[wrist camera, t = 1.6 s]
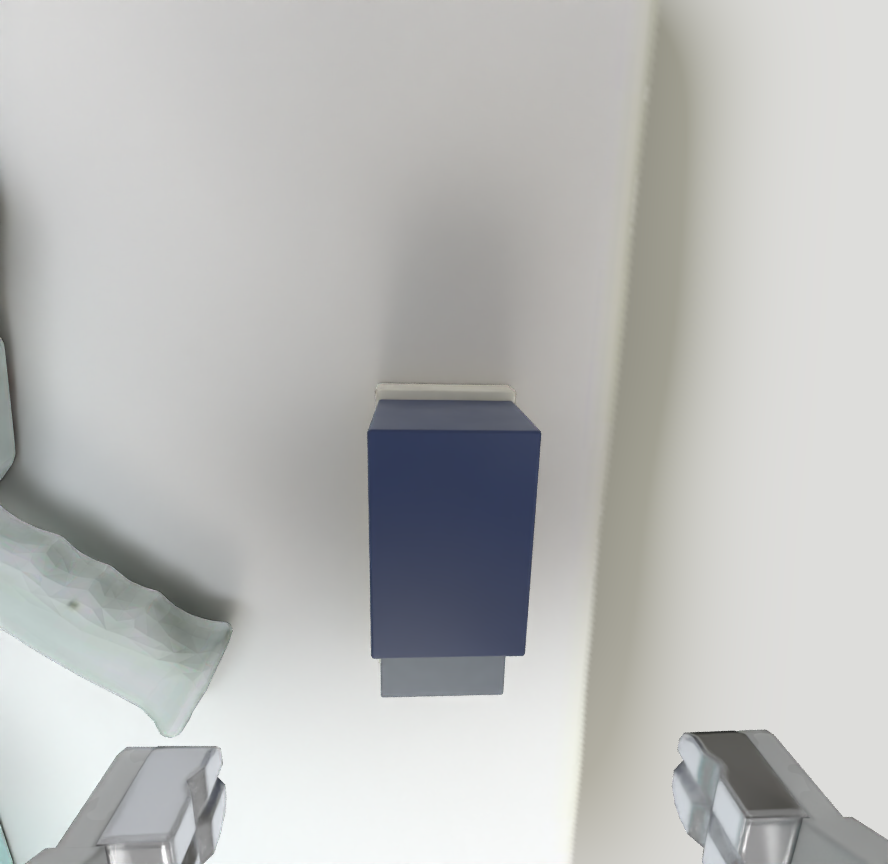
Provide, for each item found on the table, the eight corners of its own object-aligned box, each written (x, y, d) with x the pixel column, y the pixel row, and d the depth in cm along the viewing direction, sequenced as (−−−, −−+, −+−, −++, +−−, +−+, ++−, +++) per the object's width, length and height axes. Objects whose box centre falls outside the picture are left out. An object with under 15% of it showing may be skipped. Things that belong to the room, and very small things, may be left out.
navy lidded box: (377, 382, 17) (362, 417, 12) (509, 384, 17) (547, 419, 12) (380, 642, 19) (369, 758, 14) (495, 640, 19) (521, 753, 15)
